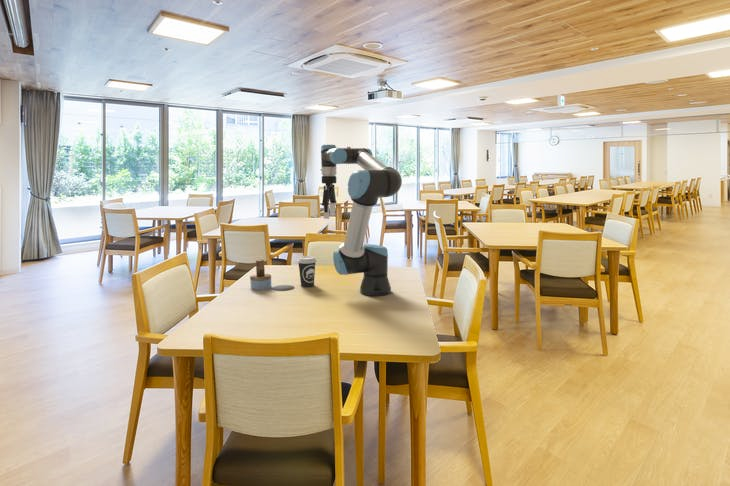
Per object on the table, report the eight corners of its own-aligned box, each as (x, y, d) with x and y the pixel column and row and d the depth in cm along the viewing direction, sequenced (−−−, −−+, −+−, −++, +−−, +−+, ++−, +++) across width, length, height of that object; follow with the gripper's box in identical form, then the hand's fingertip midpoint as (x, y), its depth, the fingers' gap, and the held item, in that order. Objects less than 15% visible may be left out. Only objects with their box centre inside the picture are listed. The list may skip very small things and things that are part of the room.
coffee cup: (318, 284, 245) (317, 255, 243) (314, 288, 236) (314, 259, 233) (300, 283, 246) (299, 255, 244) (296, 288, 237) (295, 259, 234)
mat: (299, 288, 237) (299, 287, 237) (282, 293, 228) (282, 292, 228) (284, 284, 244) (284, 283, 244) (267, 289, 235) (267, 288, 235)
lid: (275, 277, 238) (274, 260, 236) (259, 281, 230) (258, 263, 228) (262, 274, 244) (261, 257, 243) (245, 278, 236) (245, 260, 235)
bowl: (275, 287, 238) (274, 277, 238) (259, 291, 231) (259, 281, 230) (262, 284, 245) (262, 275, 244) (246, 288, 237) (246, 278, 236)
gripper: (327, 174, 252) (328, 214, 255) (315, 176, 227) (316, 219, 231) (341, 174, 250) (341, 214, 254) (330, 176, 226) (331, 220, 230)
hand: (329, 217), depth 242 cm, fingers open, 13 cm apart
